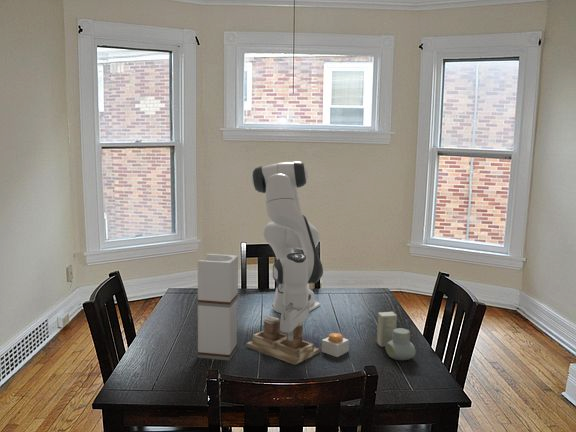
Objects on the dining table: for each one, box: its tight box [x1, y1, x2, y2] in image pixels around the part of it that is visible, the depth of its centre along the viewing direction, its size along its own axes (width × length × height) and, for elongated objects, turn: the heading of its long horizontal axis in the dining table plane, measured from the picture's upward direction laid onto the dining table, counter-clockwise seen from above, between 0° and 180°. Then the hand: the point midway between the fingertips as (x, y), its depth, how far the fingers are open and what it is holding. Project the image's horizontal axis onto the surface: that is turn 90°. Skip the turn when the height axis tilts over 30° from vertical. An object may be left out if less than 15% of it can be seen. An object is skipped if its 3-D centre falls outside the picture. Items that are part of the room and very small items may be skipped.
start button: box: [328, 332, 344, 343], centre depth 208 cm, size 5×5×3 cm
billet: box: [286, 321, 304, 349], centre depth 205 cm, size 4×4×9 cm
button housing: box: [321, 336, 350, 358], centre depth 209 cm, size 7×7×4 cm
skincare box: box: [376, 311, 398, 347], centre depth 216 cm, size 6×4×12 cm
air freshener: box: [385, 327, 417, 361], centre depth 205 cm, size 11×8×10 cm
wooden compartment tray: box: [246, 316, 320, 366], centre depth 209 cm, size 14×23×10 cm, turn 50°
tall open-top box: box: [197, 253, 239, 362], centre depth 203 cm, size 11×11×35 cm
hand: (294, 336), depth 205 cm, fingers closed on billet, 5 cm apart
